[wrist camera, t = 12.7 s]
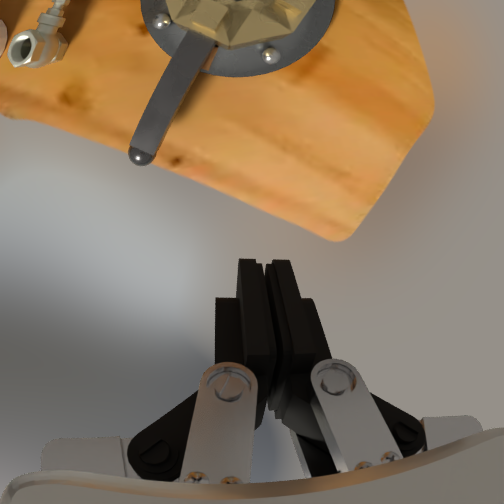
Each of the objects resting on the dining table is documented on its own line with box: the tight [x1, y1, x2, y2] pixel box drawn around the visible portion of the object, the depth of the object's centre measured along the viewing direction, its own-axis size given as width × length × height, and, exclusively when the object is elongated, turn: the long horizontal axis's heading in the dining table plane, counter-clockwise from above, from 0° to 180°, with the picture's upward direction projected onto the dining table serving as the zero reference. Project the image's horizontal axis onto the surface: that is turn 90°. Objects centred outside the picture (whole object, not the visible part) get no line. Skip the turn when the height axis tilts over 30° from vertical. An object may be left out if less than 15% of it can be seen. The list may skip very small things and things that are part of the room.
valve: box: [7, 0, 71, 68], centre depth 19 cm, size 7×7×12 cm
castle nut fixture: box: [128, 0, 316, 166], centre depth 21 cm, size 25×12×7 cm, turn 150°
